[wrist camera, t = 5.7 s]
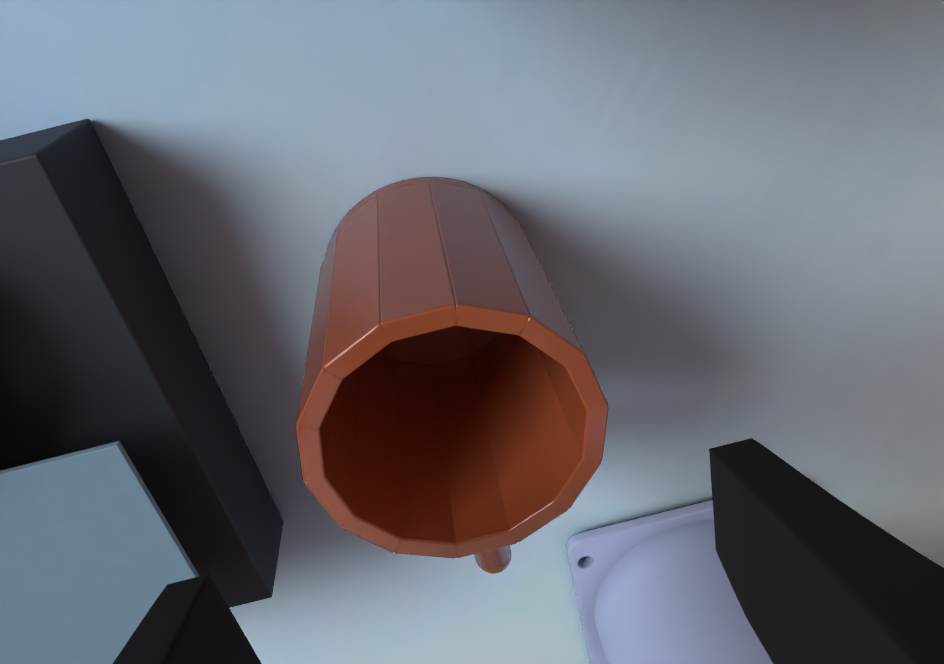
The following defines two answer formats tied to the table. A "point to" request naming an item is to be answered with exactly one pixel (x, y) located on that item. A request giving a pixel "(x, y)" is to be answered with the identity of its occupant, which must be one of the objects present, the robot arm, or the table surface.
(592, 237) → the table surface
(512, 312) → the mug
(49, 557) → the plate
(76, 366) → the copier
